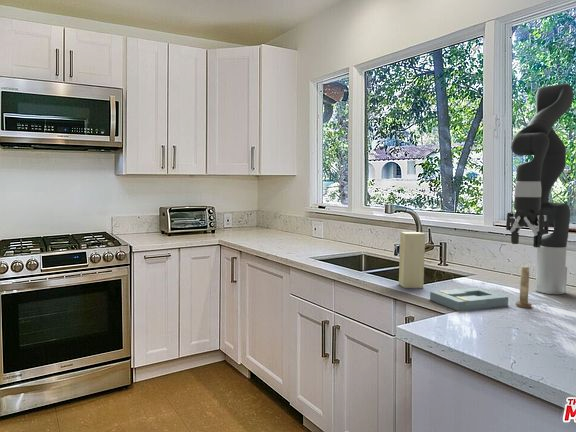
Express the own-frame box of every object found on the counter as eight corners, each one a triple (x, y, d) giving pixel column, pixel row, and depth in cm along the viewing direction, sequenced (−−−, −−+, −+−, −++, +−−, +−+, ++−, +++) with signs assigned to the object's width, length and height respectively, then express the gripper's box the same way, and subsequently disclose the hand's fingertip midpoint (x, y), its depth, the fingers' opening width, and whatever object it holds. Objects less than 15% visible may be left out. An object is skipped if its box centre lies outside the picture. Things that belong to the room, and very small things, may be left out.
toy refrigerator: (417, 283, 175) (419, 231, 174) (424, 288, 168) (425, 233, 166) (398, 283, 175) (399, 231, 174) (403, 288, 168) (404, 233, 166)
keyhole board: (476, 295, 157) (477, 286, 157) (507, 305, 144) (508, 296, 144) (430, 299, 151) (430, 291, 151) (458, 311, 138) (458, 301, 137)
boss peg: (523, 303, 147) (524, 265, 146) (534, 307, 142) (536, 267, 141) (512, 304, 145) (514, 266, 144) (524, 308, 141) (525, 268, 140)
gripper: (556, 196, 136) (553, 248, 137) (518, 195, 149) (516, 242, 150) (537, 196, 133) (535, 249, 134) (501, 195, 147) (499, 243, 148)
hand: (525, 245), depth 142 cm, fingers open, 8 cm apart
